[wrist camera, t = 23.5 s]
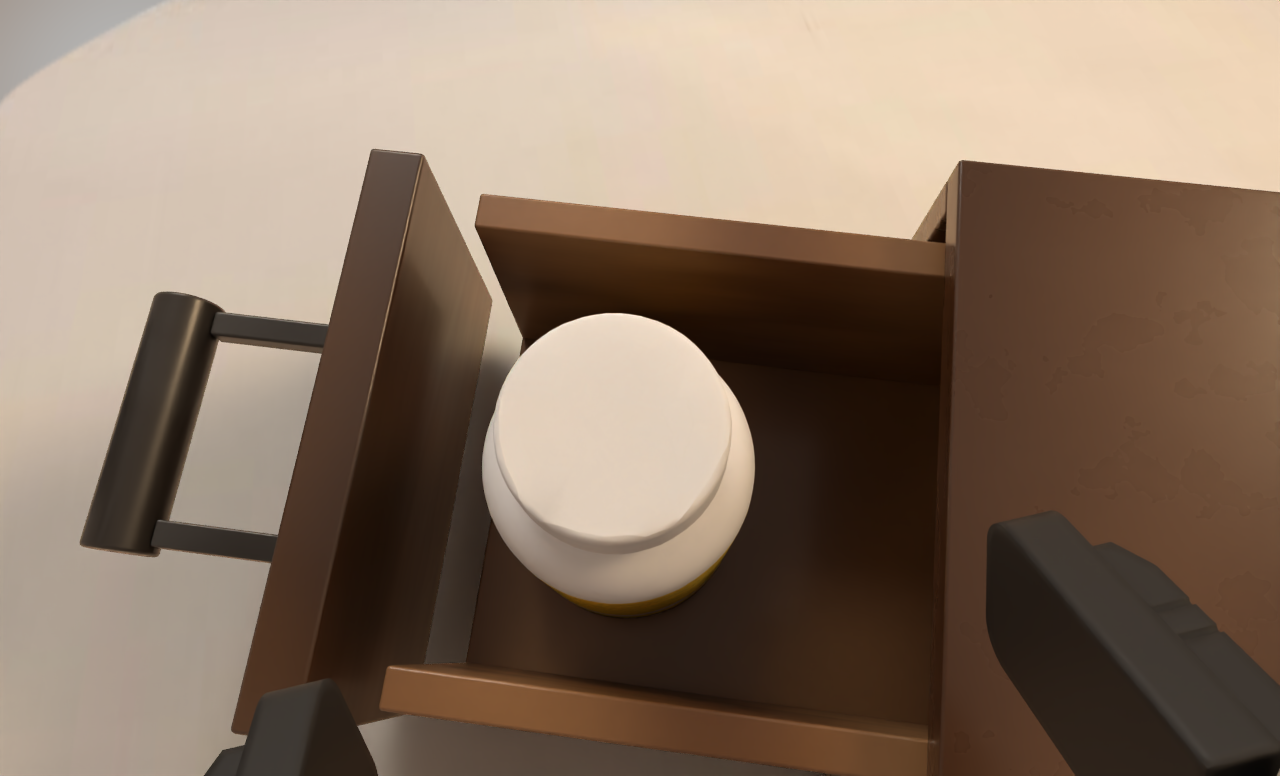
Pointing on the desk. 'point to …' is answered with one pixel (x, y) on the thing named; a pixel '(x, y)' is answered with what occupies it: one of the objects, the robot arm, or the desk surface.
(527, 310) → the drawer
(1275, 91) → the desk surface
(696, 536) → the supplement bottle
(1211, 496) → the cabinet
